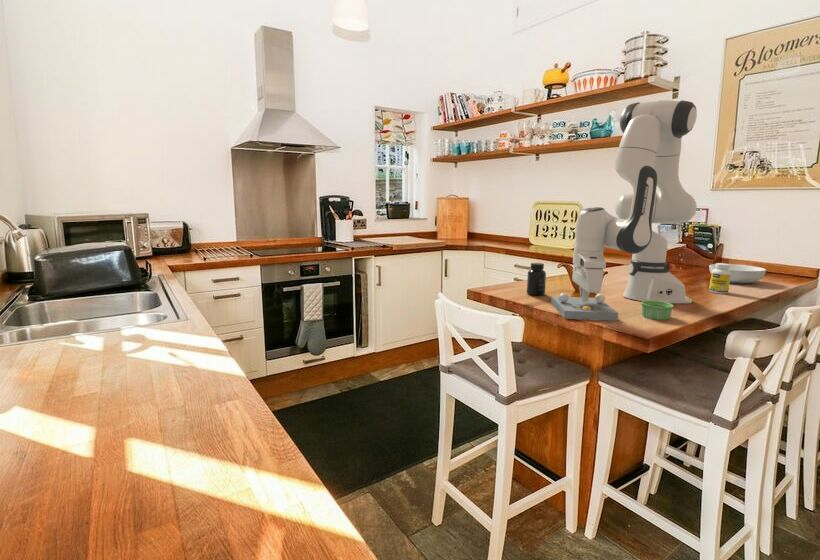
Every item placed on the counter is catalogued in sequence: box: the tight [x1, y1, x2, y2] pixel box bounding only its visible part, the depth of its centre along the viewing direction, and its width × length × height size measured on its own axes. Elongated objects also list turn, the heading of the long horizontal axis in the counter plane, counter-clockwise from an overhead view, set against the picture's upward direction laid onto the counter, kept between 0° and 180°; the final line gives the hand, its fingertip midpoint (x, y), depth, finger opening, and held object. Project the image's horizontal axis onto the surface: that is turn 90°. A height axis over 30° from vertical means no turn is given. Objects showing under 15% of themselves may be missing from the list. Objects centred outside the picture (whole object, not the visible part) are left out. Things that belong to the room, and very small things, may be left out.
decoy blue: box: [557, 292, 570, 303], centre depth 148 cm, size 3×3×3 cm
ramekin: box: [640, 301, 674, 321], centre depth 141 cm, size 9×9×4 cm
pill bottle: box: [708, 262, 731, 295], centre depth 179 cm, size 6×6×12 cm
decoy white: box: [594, 293, 606, 303], centre depth 148 cm, size 3×3×3 cm
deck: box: [550, 296, 619, 322], centre depth 147 cm, size 20×16×2 cm
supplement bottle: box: [526, 262, 547, 297], centre depth 170 cm, size 7×7×12 cm
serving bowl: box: [708, 263, 767, 285], centre depth 202 cm, size 21×21×7 cm
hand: (583, 300), depth 145 cm, fingers closed
